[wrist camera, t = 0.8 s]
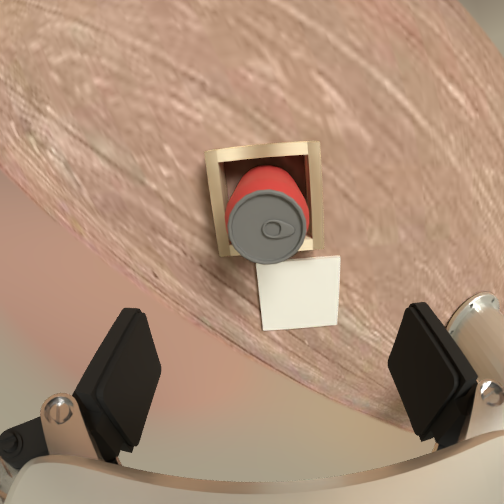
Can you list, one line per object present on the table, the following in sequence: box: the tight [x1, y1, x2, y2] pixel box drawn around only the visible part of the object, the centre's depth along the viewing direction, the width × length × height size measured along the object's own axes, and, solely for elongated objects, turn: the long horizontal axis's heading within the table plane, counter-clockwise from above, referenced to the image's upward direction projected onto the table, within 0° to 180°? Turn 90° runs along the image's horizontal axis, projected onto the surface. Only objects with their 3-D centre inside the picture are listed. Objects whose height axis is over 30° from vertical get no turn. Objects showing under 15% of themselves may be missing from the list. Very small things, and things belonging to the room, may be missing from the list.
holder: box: [204, 141, 324, 257], centre depth 29 cm, size 11×11×4 cm
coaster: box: [256, 255, 340, 331], centre depth 35 cm, size 10×10×1 cm
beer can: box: [224, 165, 309, 265], centre depth 25 cm, size 7×7×12 cm
